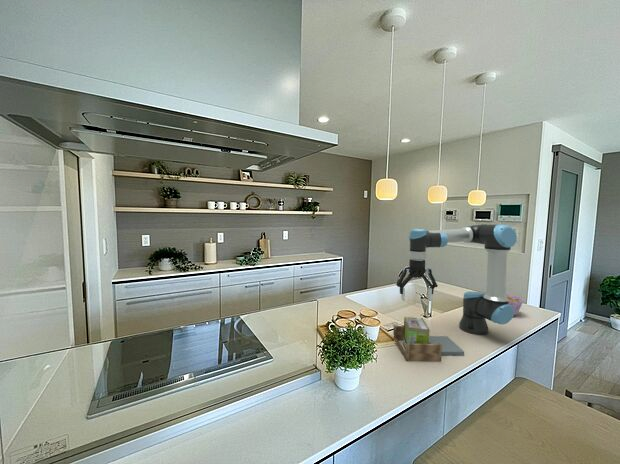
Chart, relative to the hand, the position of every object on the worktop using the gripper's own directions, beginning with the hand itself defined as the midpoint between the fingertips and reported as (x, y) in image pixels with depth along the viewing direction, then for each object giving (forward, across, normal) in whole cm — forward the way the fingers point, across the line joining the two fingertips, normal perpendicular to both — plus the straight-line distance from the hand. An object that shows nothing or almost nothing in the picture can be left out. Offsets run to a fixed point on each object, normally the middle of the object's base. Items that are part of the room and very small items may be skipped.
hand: (416, 300), depth 133 cm
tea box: (+26, 0, 0) cm, 26 cm away
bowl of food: (+26, -83, -52) cm, 101 cm away
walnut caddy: (+26, 0, 0) cm, 26 cm away
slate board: (+26, -16, -3) cm, 31 cm away
